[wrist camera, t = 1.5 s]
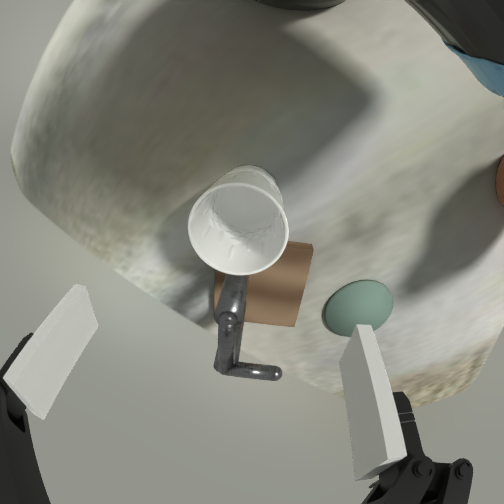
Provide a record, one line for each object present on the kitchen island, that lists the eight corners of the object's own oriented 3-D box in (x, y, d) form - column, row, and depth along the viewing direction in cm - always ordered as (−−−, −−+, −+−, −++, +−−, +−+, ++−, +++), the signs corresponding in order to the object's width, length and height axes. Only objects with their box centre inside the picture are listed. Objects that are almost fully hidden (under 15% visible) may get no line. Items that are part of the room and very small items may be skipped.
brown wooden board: (218, 232, 33) (216, 238, 31) (311, 244, 32) (313, 250, 31) (215, 310, 38) (213, 317, 37) (293, 319, 38) (294, 327, 37)
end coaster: (335, 276, 34) (336, 278, 34) (401, 283, 34) (403, 285, 34) (317, 332, 39) (317, 334, 39) (377, 335, 39) (378, 337, 38)
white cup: (240, 239, 33) (228, 290, 24) (198, 186, 30) (168, 220, 21) (298, 204, 30) (307, 246, 22) (257, 145, 28) (248, 162, 19)
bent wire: (231, 246, 32) (212, 311, 22) (293, 253, 32) (299, 322, 22) (227, 309, 36) (212, 378, 26) (280, 315, 36) (280, 386, 26)
